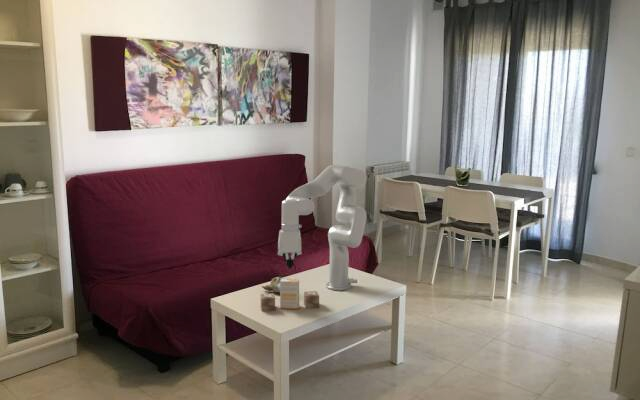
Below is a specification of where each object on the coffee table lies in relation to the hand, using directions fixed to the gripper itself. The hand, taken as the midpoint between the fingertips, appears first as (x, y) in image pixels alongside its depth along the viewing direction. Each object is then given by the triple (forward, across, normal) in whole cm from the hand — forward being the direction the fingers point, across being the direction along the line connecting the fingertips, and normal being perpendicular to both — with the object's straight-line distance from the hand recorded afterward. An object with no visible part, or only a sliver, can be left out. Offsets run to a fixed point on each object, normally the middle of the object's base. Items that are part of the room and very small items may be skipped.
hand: (289, 267), depth 244 cm
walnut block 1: (+19, +10, 0) cm, 21 cm away
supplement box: (+19, 0, 0) cm, 19 cm away
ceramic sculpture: (+19, +2, -21) cm, 28 cm away
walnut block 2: (+19, -10, 0) cm, 22 cm away
